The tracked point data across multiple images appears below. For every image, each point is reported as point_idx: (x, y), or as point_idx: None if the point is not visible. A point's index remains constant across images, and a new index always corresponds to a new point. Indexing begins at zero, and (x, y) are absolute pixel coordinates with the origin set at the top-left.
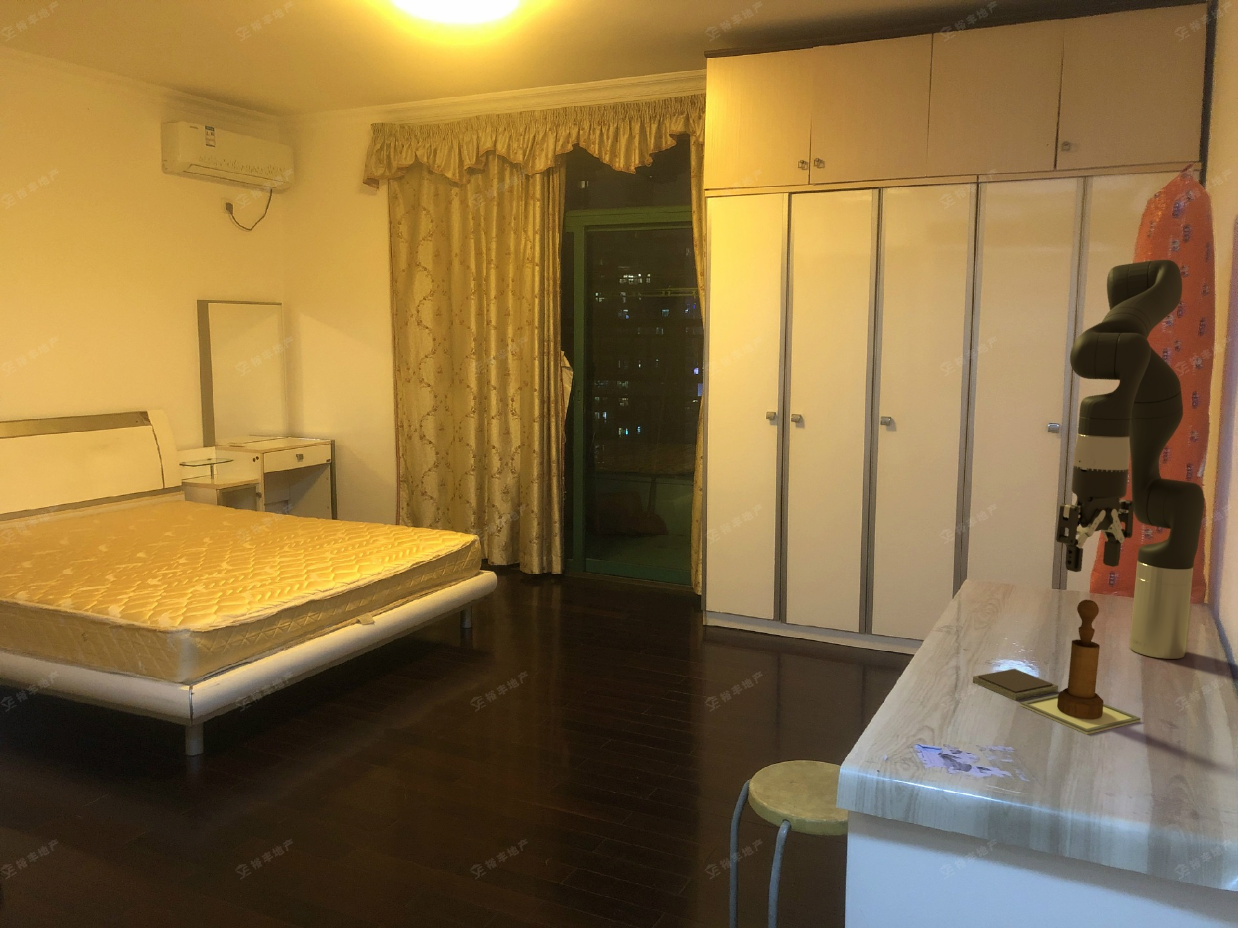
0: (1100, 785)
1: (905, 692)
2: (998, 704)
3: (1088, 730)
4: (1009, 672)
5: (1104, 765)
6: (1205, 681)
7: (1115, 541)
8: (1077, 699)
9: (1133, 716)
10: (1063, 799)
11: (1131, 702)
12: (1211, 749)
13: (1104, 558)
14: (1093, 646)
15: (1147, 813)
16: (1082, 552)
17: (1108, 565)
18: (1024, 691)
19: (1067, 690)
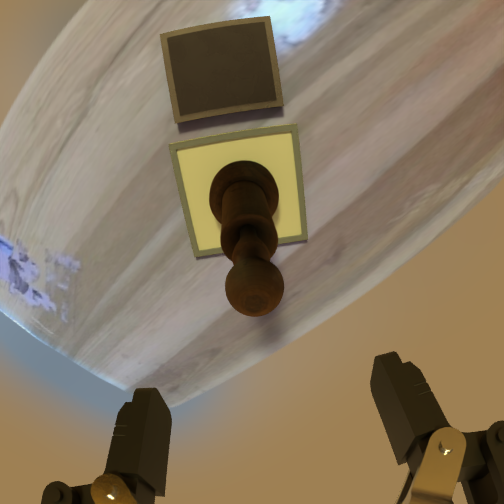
0: (125, 345)
1: (36, 74)
2: (138, 133)
3: (197, 256)
4: (239, 32)
5: (156, 319)
6: (497, 159)
7: (409, 464)
8: (220, 218)
9: (303, 232)
10: (82, 351)
11: (358, 178)
12: (311, 315)
13: (383, 374)
14: (268, 241)
15: (137, 380)
16: (163, 481)
17: (373, 367)
18: (200, 114)
19: (225, 190)
